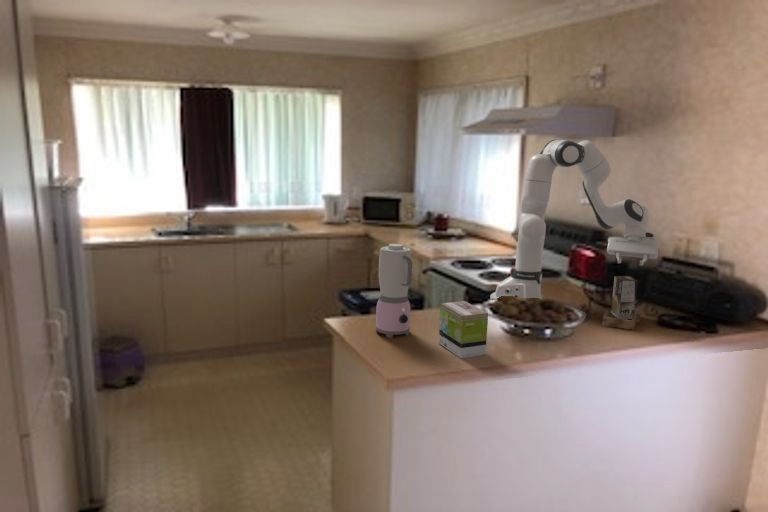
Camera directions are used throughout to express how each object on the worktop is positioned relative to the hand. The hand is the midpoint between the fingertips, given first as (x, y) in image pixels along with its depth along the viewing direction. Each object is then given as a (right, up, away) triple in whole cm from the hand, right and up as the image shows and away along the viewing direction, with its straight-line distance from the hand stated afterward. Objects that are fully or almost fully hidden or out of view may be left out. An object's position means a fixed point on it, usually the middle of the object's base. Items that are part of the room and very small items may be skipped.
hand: (630, 263), depth 250 cm
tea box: (-78, -28, -52) cm, 98 cm away
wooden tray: (-12, -23, -18) cm, 32 cm away
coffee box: (-7, -22, -8) cm, 24 cm away
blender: (-100, -25, -38) cm, 110 cm away
